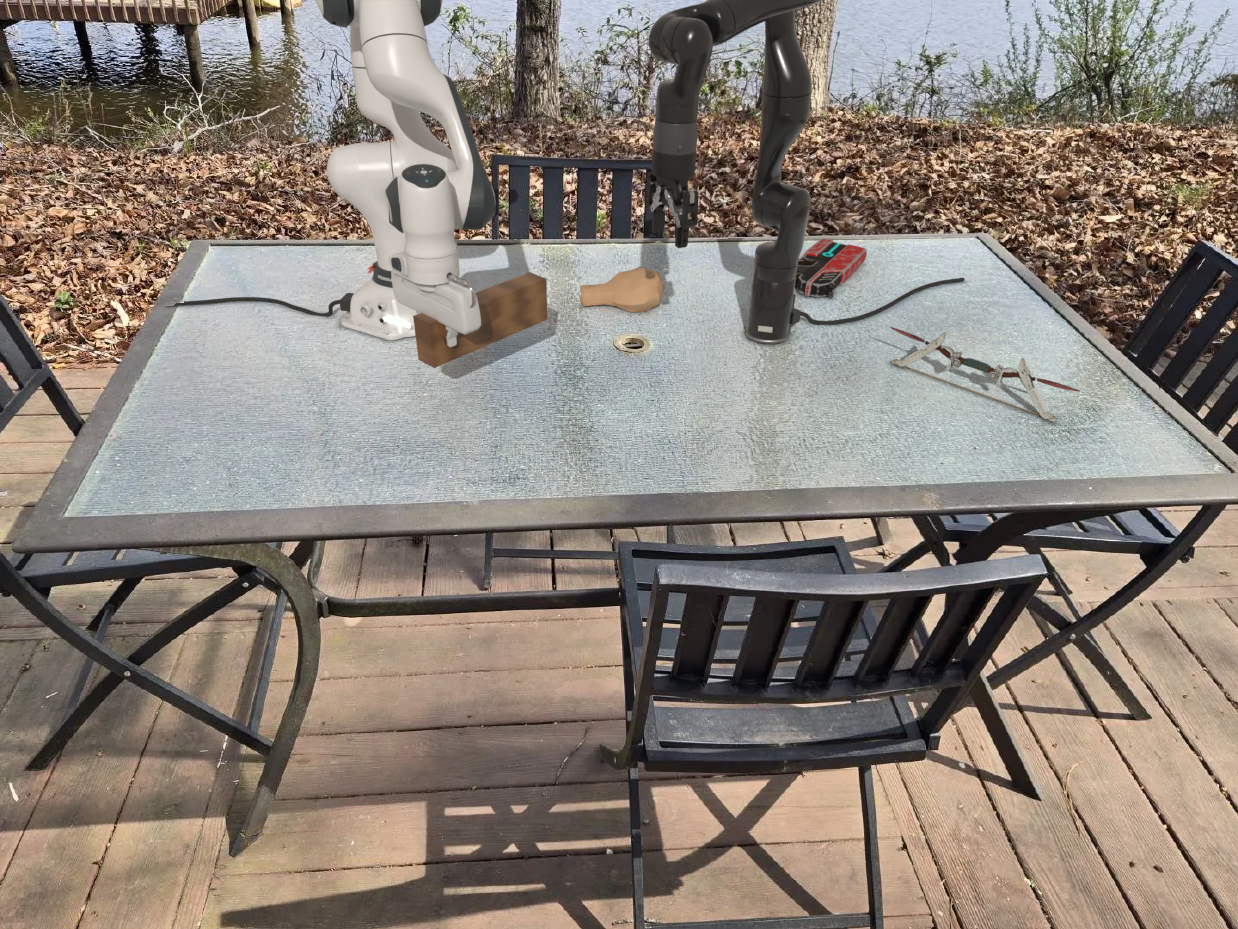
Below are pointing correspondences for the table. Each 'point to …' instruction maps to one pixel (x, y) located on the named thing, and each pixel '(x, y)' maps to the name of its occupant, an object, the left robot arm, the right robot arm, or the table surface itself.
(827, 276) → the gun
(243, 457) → the table surface
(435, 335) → the bar
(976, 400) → the table surface
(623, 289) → the squash
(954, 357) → the bow
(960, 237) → the table surface
